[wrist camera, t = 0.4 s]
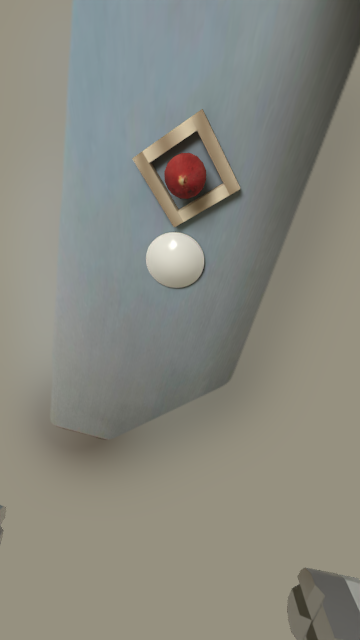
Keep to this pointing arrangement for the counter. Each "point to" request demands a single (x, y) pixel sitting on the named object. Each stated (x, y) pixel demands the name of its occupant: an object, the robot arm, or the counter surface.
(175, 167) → the onion
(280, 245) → the counter surface
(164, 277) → the white domed disc
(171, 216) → the frame
